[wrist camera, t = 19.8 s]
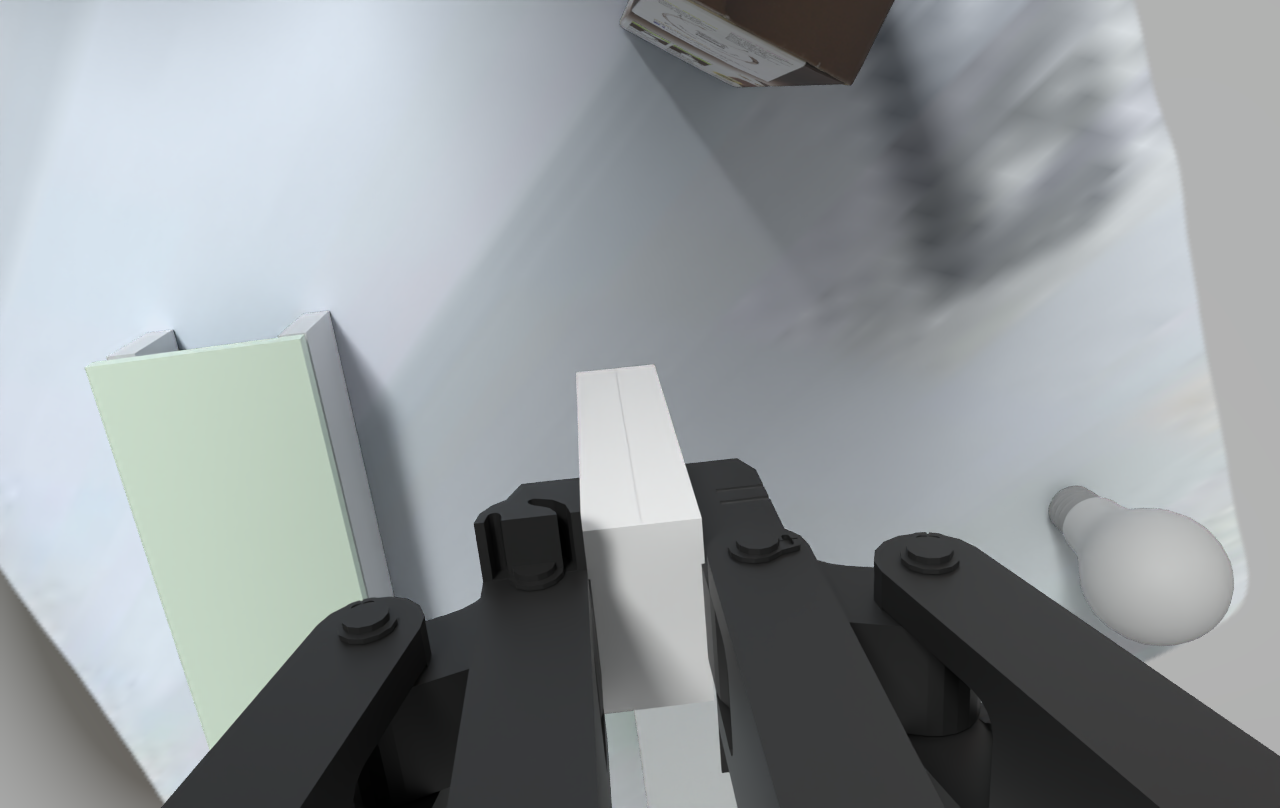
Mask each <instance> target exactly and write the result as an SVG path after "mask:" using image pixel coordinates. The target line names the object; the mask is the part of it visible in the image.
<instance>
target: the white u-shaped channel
mask: <svg viewBox="0 0 1280 808" xmlns="http://www.w3.org/2000/svg"><path fill="white" fill-rule="evenodd" d="M302 334H304V335H305V340H306V344H307V348H308V352H309V356H310V360H311V365H312V369H313V373H314V377H315V381H316V386H317V390H318V394H319V398H320V402H321V406H322V411H323V415H324V419H325V423H326V427H327V431H328V436H329V440H330V444H331V448H332V452H333V457H334V461H335V465H336V469H337V473H338V477H339V482H340V486H341V490H342V494H343V498H344V503H345V507H346V511H347V515H348V519H349V523H350V528H351V532H352V536H353V540H354V544H355V549H356V553H357V557H358V561H359V565H360V569H361V574H362V578H363V582H364V586H365V590H366V595H367V598H372V597H376V598H380V597H394V593H393V589H392V584H391V580H390V576H389V571H388V567H387V562H386V558H385V554H384V549H383V545H382V540H381V536H380V532H379V527H378V523H377V519H376V514H375V510H374V505H373V501H372V497H371V492H370V488H369V483H368V479H367V475H366V470H365V466H364V461H363V457H362V453H361V448H360V444H359V439H358V435H357V431H356V426H355V422H354V418H353V413H352V409H351V404H350V400H349V396H348V391H347V387H346V382H345V378H344V374H343V369H342V365H341V360H340V356H339V352H338V347H337V343H336V338H335V334H334V330H333V325H332V321H331V317H330V312H329V311H320V312H312V313H304V314H302V315H301V316H300V317H299V318H298V319H296V320H295V321H294V322H293V323H292V324H291V325H290V326H288V327H287V328H286V329H285V330H284V331H283V332H281V333H280V334H279V335H278V338H279V337H287V336H294V335H302ZM174 351H179V348H178V345H177V341H176V338H175V335H174V331H173V330H165V331H157V332H148V333H145V334H144V335H142V336H140V337H139V338H137V339H135V340H134V341H132V342H130V343H129V344H127V345H125V346H123V347H122V348H120V349H118V350H117V351H115V352H113V353H112V354H110V355H108V356H107V357H106V359H107V360H113V359H121V358H128V357H136V356H143V355H151V354H158V353H166V352H174Z"/></svg>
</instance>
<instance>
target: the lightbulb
mask: <svg viewBox="0 0 1280 808" xmlns="http://www.w3.org/2000/svg"><path fill="white" fill-rule="evenodd" d="M1049 517H1050V519H1051V521H1052V522H1053V524H1054V525H1055V526H1056V527H1057V528H1058V530H1059V531H1061V533H1062V534H1063V535H1064V538H1065V541H1066V543H1067V544H1068V546H1069V547H1070V548H1071V549H1072V550H1073V551H1074V552H1075V554H1076V555H1077V557H1078V569H1079V578H1080V586H1081V589H1082V592H1083V595H1084V597H1085V599H1086V601H1087V603H1088V605H1089V606H1090V608H1091V609H1092V611H1093V613H1094V614H1095V615H1096V616H1097V617H1098V618H1099V619H1100V620H1101V621H1102V622H1103V623H1104V624H1105V625H1106V626H1107V627H1108V628H1110V629H1112V630H1113V631H1115V632H1117V633H1118V634H1120V635H1122V636H1124V637H1125V638H1128V639H1131V640H1133V641H1136V642H1139V643H1143V644H1147V645H1157V646H1170V645H1178V644H1182V643H1186V642H1190V641H1193V640H1195V639H1198V638H1200V637H1202V636H1203V635H1205V634H1207V633H1208V632H1209V631H1211V630H1212V629H1213V628H1214V627H1216V625H1217V624H1218V623H1219V622H1220V621H1221V620H1222V619H1223V617H1224V615H1225V614H1226V612H1227V610H1228V608H1229V606H1230V603H1231V599H1232V595H1233V590H1234V578H1233V570H1232V566H1231V562H1230V560H1229V558H1228V556H1227V554H1226V552H1225V550H1224V549H1223V547H1222V545H1221V544H1220V542H1219V541H1218V540H1217V539H1216V538H1215V537H1214V536H1213V534H1212V533H1211V532H1210V531H1209V530H1208V529H1207V528H1205V527H1204V526H1202V525H1201V524H1199V523H1198V522H1196V521H1195V520H1193V519H1191V518H1190V517H1187V516H1184V515H1181V514H1178V513H1175V512H1172V511H1169V510H1163V509H1152V508H1138V509H1128V508H1125V507H1123V506H1120V505H1119V504H1117V503H1116V502H1114V501H1112V500H1110V499H1107V498H1102V497H1100V496H1098V495H1096V494H1095V493H1094V492H1092V491H1090V490H1088V489H1086V488H1085V487H1082V486H1071V487H1067V488H1065V489H1063V490H1061V491H1059V492H1058V493H1057V494H1056V495H1055V496H1054V497H1053V499H1052V501H1051V503H1050V506H1049Z"/></svg>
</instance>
